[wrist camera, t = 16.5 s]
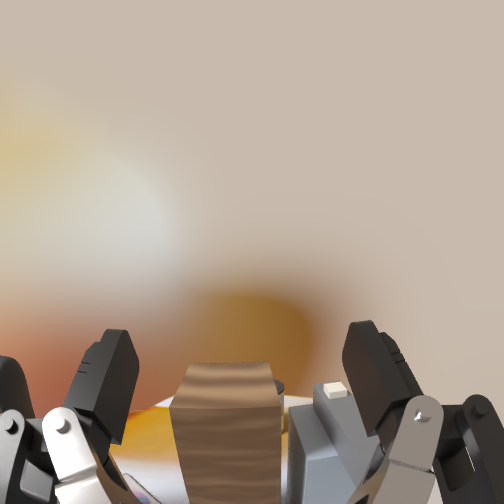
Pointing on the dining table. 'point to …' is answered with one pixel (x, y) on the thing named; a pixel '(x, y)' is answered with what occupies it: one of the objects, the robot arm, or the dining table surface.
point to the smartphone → (139, 491)
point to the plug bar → (344, 427)
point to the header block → (314, 462)
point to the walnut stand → (228, 433)
